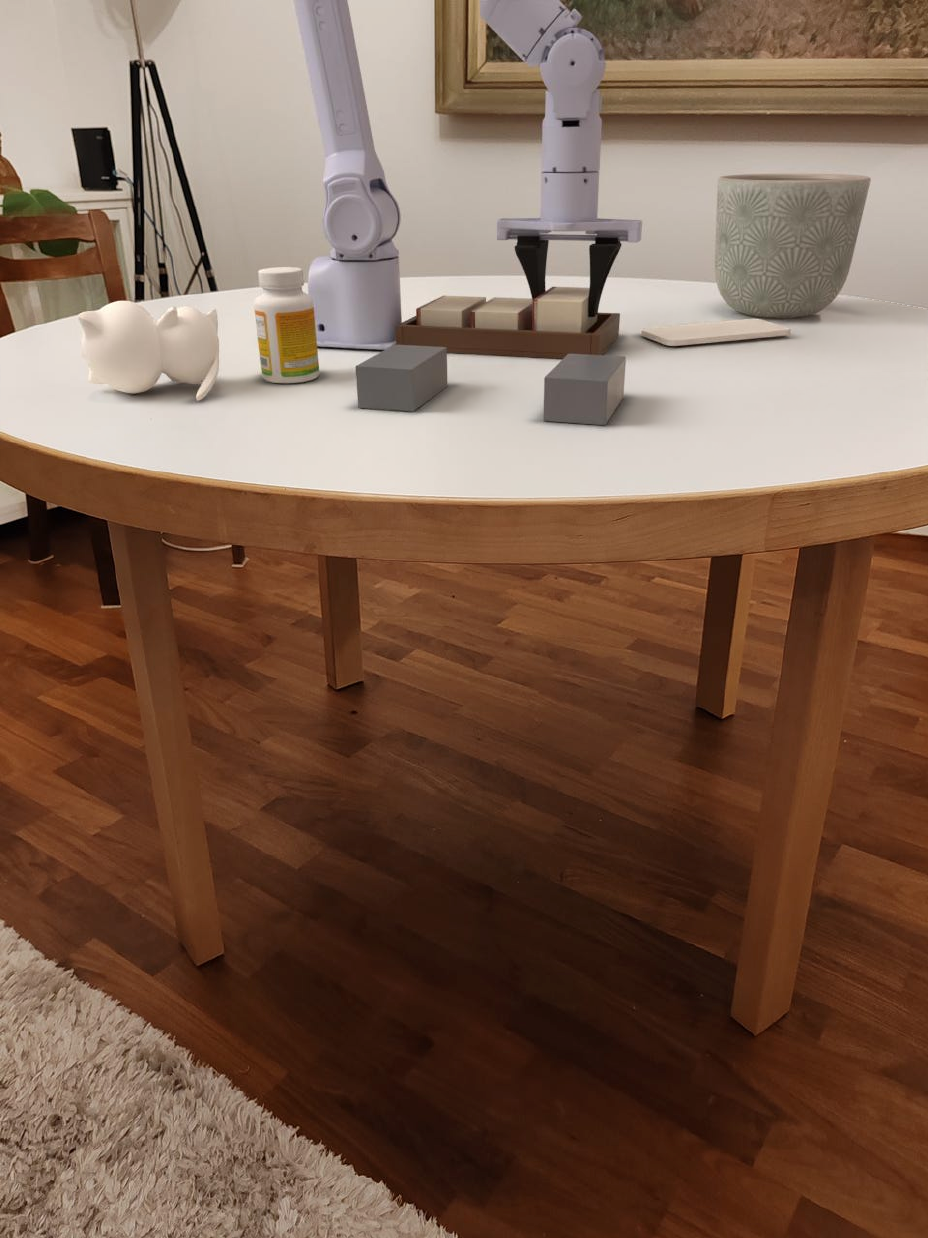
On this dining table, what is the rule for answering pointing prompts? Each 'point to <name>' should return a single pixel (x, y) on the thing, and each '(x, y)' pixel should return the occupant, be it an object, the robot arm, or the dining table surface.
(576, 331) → the beige rectangular block
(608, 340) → the book tray
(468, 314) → the beige book
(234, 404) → the dining table surface
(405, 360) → the gray rectangular block
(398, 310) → the robot arm
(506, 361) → the dining table surface
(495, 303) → the ivory book
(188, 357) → the cat figurine
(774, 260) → the planter
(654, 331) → the smartphone
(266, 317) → the supplement bottle
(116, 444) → the dining table surface
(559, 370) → the grey box
